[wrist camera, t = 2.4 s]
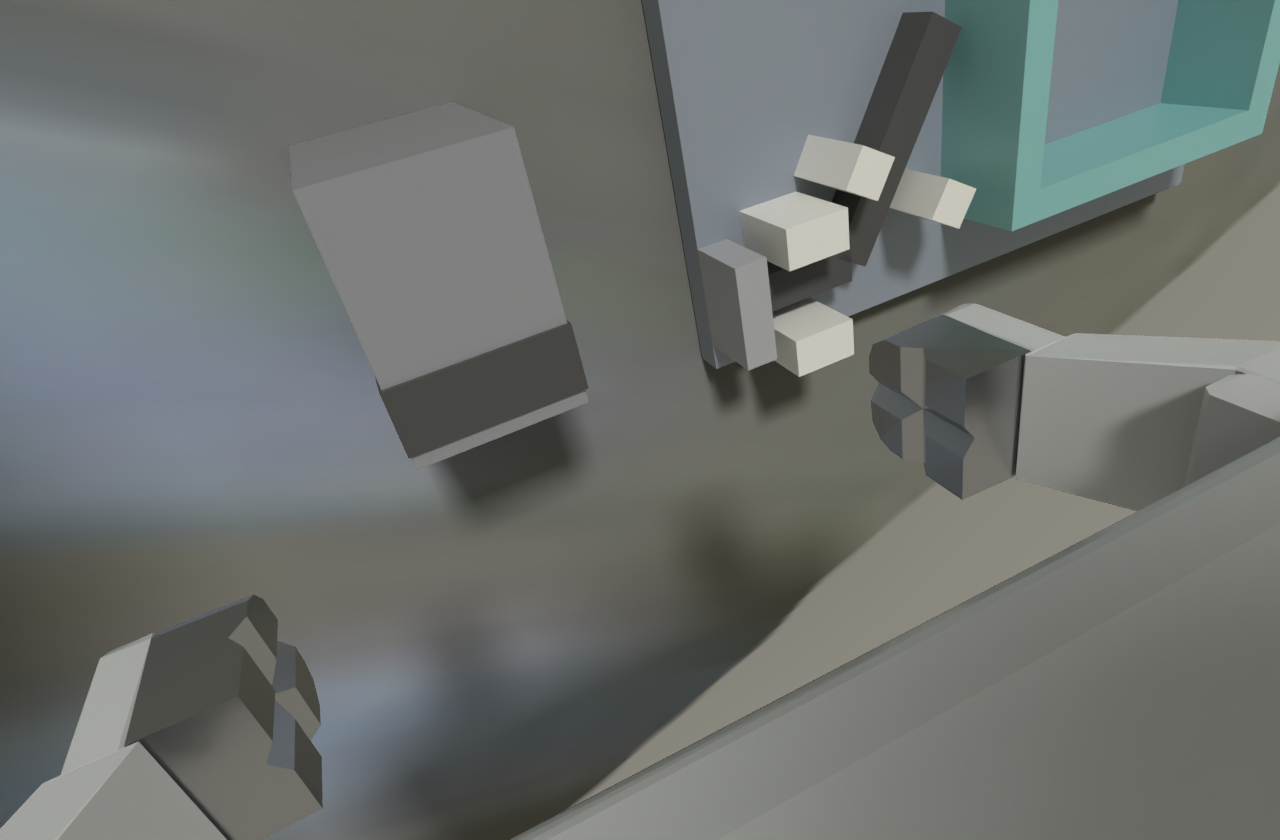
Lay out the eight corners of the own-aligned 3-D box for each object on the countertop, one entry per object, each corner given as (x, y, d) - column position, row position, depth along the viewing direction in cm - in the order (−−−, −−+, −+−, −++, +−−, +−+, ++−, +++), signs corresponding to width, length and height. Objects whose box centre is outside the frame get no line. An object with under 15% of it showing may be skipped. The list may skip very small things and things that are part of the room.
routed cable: (702, 296, 22) (721, 308, 21) (910, -2, 21) (942, -4, 20) (774, 349, 24) (794, 363, 23) (969, 81, 23) (1000, 83, 22)
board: (605, -217, 17) (671, -267, 14) (1247, -325, 22) (1392, -379, 19) (702, 357, 25) (757, 400, 22) (1156, 179, 30) (1248, 194, 27)
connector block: (286, 146, 17) (289, 192, 12) (453, 101, 18) (517, 127, 13) (382, 366, 20) (415, 472, 16) (520, 317, 22) (592, 403, 17)
